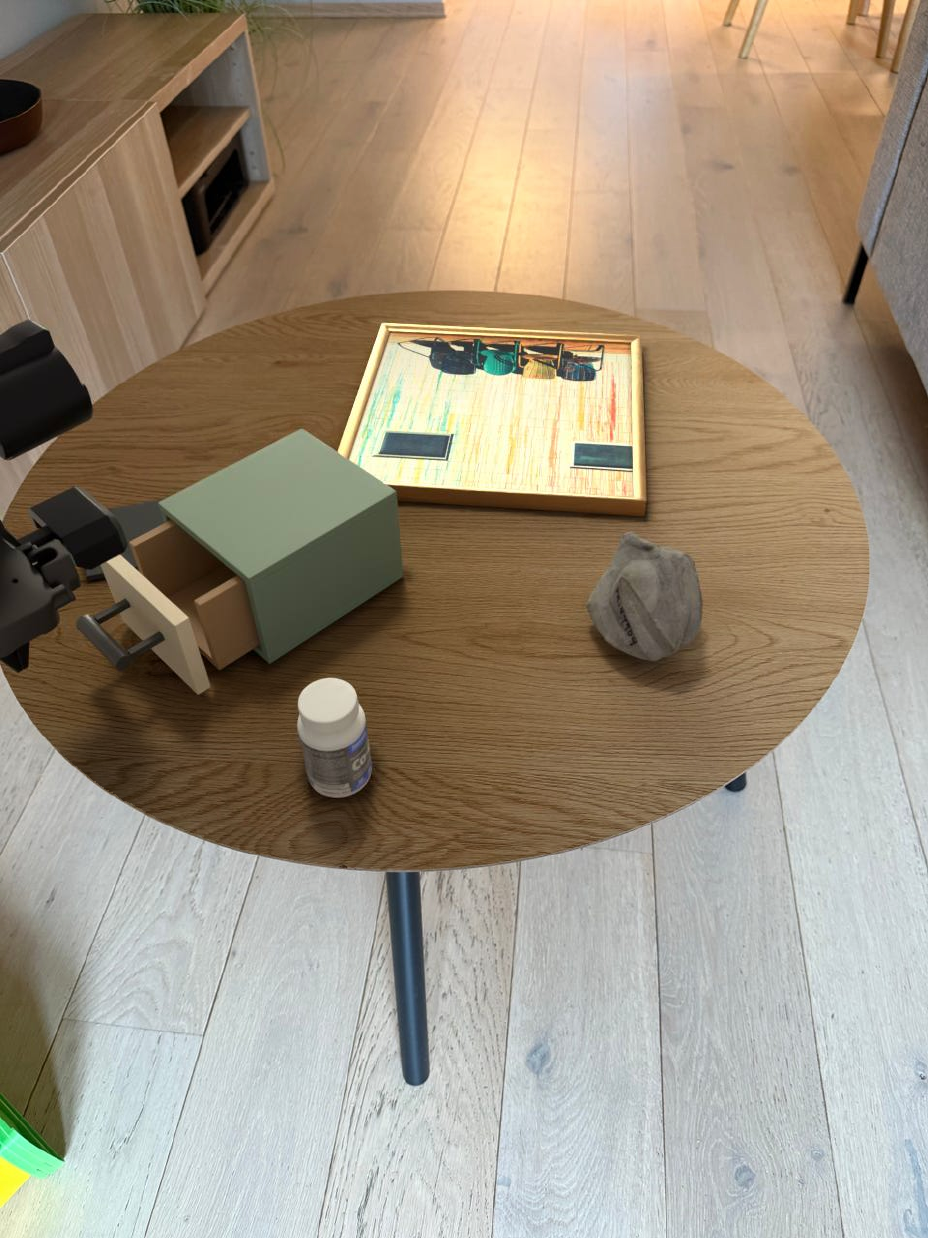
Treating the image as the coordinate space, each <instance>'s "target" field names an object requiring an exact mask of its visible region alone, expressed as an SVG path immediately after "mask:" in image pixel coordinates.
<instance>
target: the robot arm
mask: <svg viewBox="0 0 928 1238" xmlns="http://www.w3.org/2000/svg"><path fill="white" fill-rule="evenodd" d="M55 345H56V344H55V343H54V340H53V337H52V334H51V331H50V330H49V329H48V328H45V327H44V326H42V325H40V324H39V323H37V322H35V321H33V320H31V319H29V318H28V319H26V320H24V321H21V322H19V323H17V324H14V325H12V326H10V327H9V328H8V329H6V330H5V331H4V332H2V333H1V334H0V458H1V459H2V460H4V461H12V460H14V459H15V458H16V459H17V458H18V457H20V456H22V455H24V454H26V453H28V452H30V451H32V450H34V449H36V448H37V447H40V446H42V445H44V444H46V443H47V442H50V441H52V440H54V439H56V438H57V437H59V436H62V435H64V434H66V433H68V432H69V431H72V430H73V429H75V428H77V427H79V426H81V425H83V424H85V423H87V422H89V421H91V419H92V418H93V414H94V409H93V402H92V399H91V398H92V397H91V395H90V391H89V389H88V387H87V385H86V384H85V383H84V382H82V381H81V380H80V377H79V376H78V375H77V373H76V371H75V369H74V368H73V366H72V365H71V364H70V362H69V361H68V359H67V358H66V357H65V356H64V354H63V353H62V352H61V350H59V348H58V347H57V346H55ZM109 510H110V509H108V508H106V506H104V505H103V504H102V503H101V502H100V501H99V500H98V499H96V498H95V497H94V496H93V495H92V494H91V493H89V491H87V490H86V489H83V488H80V487H78V486H75V485H73V487H70V488H68V489H65V490H64V491H62V492H60V493H58V494H55V495H53V496H52V497H49V498H47V499H45V500H43V501H41V502H39V503H37V504H34V505H32V506H31V507H29V509H28V511H27V514H28V516H29V518H30V520H31V524H32V525H33V526H34V527H35V528H36V529H35V530H34V531H32V532H29V533H28V534H25V535H24V536H21V537H19V538H17V537H16V536H15V535H14V534H12V533H11V532H10V531H9V530H8V529H7V528H6V527H5V525H4V523H3V520H2V519H0V662H2V663H3V664H5V665H6V666H7V667H9V668H10V669H11V670H13V671H14V672H16V674H19V673H21V672H23V671H24V670H26V669H28V668H29V667H30V665H29V664H30V642H31V641H33V640H35V639H37V638H38V637H40V636H42V635H47V634H49V633H52V631H54V630H55V629H56V628H57V627H58V625H60V620H61V617H60V612H59V610H60V609H62V608H63V607H65V606H67V605H69V604H71V603H72V602H74V601H76V600H77V598H76V596H75V593H74V591H76V590H78V589H80V588H81V587H82V581H81V577H80V574H79V572H78V571H79V570H77V568H80V569H85V570H86V569H89V570H92V569H94V568H96V567H98V566H99V565H101V564H103V563H105V562H107V561H109V560H111V559H113V558H114V557H116V556H118V555H120V554H122V553H124V552H125V551H126V548H127V545H128V543H127V540H126V537H125V535H124V532H123V529H122V526H121V525H120V523H119V522H118V520H117V518H116V517H115V516H114V515H113V514H112V513H111V512H110V511H109Z"/></svg>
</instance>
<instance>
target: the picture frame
mask: <svg viewBox="0 0 928 1238" xmlns="http://www.w3.org/2000/svg"><path fill="white" fill-rule="evenodd" d="M642 339H643V338H642V335H641V334H623V333H622V334H621V333H600V332H581V331H580V332H579V331H558V330H539V329H538V330H537V329H515V328H498V327H497V328H496V327H495V328H494V327H477V326H476V327H475V326H472V327H471V326H451V325H433V324H431V325H429V324H413V323H412V324H411V323H391V322H389V323H388V322H381V324H380V327H379V330H378V333H377V337H376V339H375V342H374V345H373V348H372V351H371V353H370V356H369V359H368V361H367V365H366V368H365V371H364V374H363V376H362V379H361V383H360V385H359V389H358V391H357V395H356V396H355V400H354V403H353V406H352V408H351V411H350V414H349V417H348V420H347V422H346V426H345V429H344V431H343V435H342V437H341V440H340V443H339V446H338V449H337V452H338V453H340V454H341V455H343V456H344V457H346V458H347V459H349V460H350V461H352V462H353V463H355V464H356V465H358V466H359V467H361V468H362V469H364V470H365V471H367V472H368V473H370V474H371V475H373V476H374V477H376V478H377V479H379V480H380V481H382V482H383V483H385V484H386V485H388V486H389V487H391V488H392V489H394V490H395V491H396V492H397V502H412V503H425V504H426V503H427V504H443V505H456V506H457V505H459V506H476V507H491V508H505V509H522V510H536V511H537V510H539V511H553V512H568V513H584V514H601V515H617V516H630V517H631V516H633V517H645V514H646V507H647V503H648V502H647V501H648V499H647V472H646V471H647V468H646V467H647V466H646V441H645V440H646V439H645V437H646V436H645V433H646V432H645V408H644V407H645V403H644V401H645V400H644V375H643V371H644V370H643V343H642Z"/></svg>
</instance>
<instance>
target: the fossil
mask: <svg viewBox="0 0 928 1238" xmlns="http://www.w3.org/2000/svg"><path fill="white" fill-rule="evenodd" d="M703 605H704V604H703V595H702V591H701V586H700V581H699V575H698V572H697V569H696V562H695V561H694V559H693V558H692V557H691V556H690V555H689V554H688V553H686V552H683V551H682V550H679V549H677V548H675V547H672V546H667V545H660V544H657V543H655V542H652V541H649V540H646V539H645V538H644V537H642V536H640V535H638V534H637V533H635V532H634V531H628V532H625V533H623V534H621V536H620V539H619V545H618V547H617V549H616V550H615V553H614V555H613V557H612V559H611V561H610V564H609V566H608V568H607V569H606V570H605V571H604V573H603V574H602V576H600V578H599V579H598V582H597V584H596V586H595V588H594V589H593V591H592V593H591V594H590V595H589V597H588V600H587V603H586V609H587V613H588V614H589V617H590V620H591V621H592V622H593V624H594V626H595V628H596V630H597V631H598V632H599V634H600V635H601V637H603V639H604V641H605V642H606V643H607V644H609V646H611V647H612V648H614V649H616V650H617V651H621V652H623V653H625V654H627V655H629V656H631V657H633V658H634V657H635V658H638V659H641V660H644V661H649V662H657V661H659V660H661V659H663V658H668V657H671V656H672V655H673V654H676V653H677V652H678V651H679V649H683V648H685V647H688V646H691V644H693V642H694V640H696V637H697V636H698V634H699V632H700V630H701V626H702V620H703Z"/></svg>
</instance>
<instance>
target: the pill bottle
mask: <svg viewBox="0 0 928 1238" xmlns="http://www.w3.org/2000/svg"><path fill="white" fill-rule="evenodd" d="M297 699H298V700H297V709H298V713H299V715H298V718H297V721H296V731H297V735H298V739H299V744H300V747H301V753H302V757H303V761H304V766H305V771H306V775H307V779H308V781H309V783H310V785H311V787H312V788H313V790H315V791H316V792H317V793H318V794H319V795H322V796H324V797H328V798H336V799H337V798H338V799H339V798H346V797H350V796H352V795H355V794H356V793H358V792H360V791H361V790H362V789H363V788H365V786H366V785H367V784H368V782H369V780H370V778H371V776H372V772H373V764H372V763H373V762H372V756H371V745H370V741H369V735H368V727H367V719H366V715H365V714H366V713H365V711H364V709H363V708H362V705H360V703H359V699H358V695H357V692H356V690H355V688H354V686H352V685H351V683H349V682H347V681H346V680H343V679H341V678H336V677H325V678H320V679H318V680H315V681H313V682H311V683H309V684H307V686H306V687H304V688H303V690H302V691H301V693H300V694H299V696H298V698H297Z"/></svg>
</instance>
